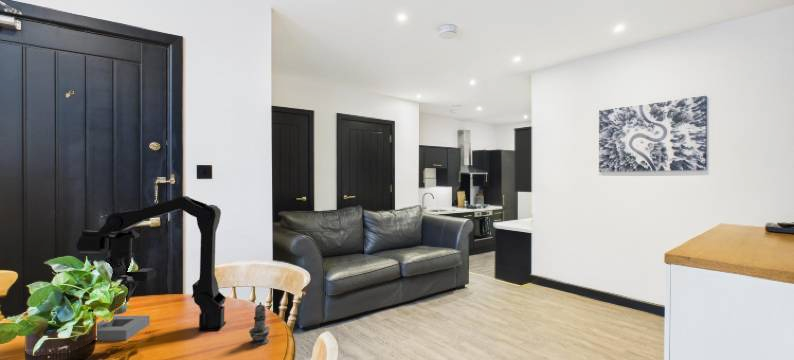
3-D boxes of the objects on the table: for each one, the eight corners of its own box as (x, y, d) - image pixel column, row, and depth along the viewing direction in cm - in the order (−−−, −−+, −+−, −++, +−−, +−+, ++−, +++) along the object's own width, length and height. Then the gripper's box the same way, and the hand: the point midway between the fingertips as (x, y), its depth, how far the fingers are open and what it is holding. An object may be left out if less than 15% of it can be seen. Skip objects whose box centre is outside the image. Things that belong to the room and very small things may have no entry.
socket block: (149, 324, 120) (149, 315, 120) (126, 340, 108) (126, 330, 108) (110, 325, 119) (110, 315, 119) (82, 341, 107) (82, 330, 107)
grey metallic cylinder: (129, 309, 115) (130, 284, 115) (121, 314, 111) (122, 288, 111) (115, 310, 115) (116, 284, 115) (107, 314, 111) (107, 288, 111)
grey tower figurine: (262, 336, 113) (263, 297, 113) (273, 341, 110) (274, 301, 110) (244, 342, 108) (245, 302, 108) (256, 348, 105) (257, 306, 105)
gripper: (67, 257, 104) (65, 312, 104) (136, 257, 106) (135, 311, 106) (95, 250, 115) (93, 299, 115) (157, 250, 117) (156, 299, 117)
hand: (118, 302), depth 113 cm, fingers closed on grey metallic cylinder, 4 cm apart
